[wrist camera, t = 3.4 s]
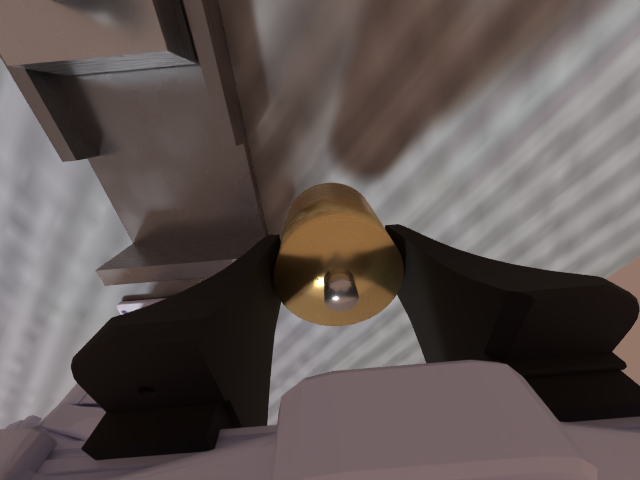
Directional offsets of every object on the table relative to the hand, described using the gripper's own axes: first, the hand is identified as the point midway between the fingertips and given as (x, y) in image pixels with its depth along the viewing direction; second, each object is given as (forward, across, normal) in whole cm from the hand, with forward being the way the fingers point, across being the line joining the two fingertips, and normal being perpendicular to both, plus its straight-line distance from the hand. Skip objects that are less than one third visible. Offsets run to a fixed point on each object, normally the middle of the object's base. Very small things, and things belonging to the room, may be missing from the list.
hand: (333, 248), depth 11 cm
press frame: (+7, +10, -4) cm, 13 cm away
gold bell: (+2, 0, 0) cm, 2 cm away
